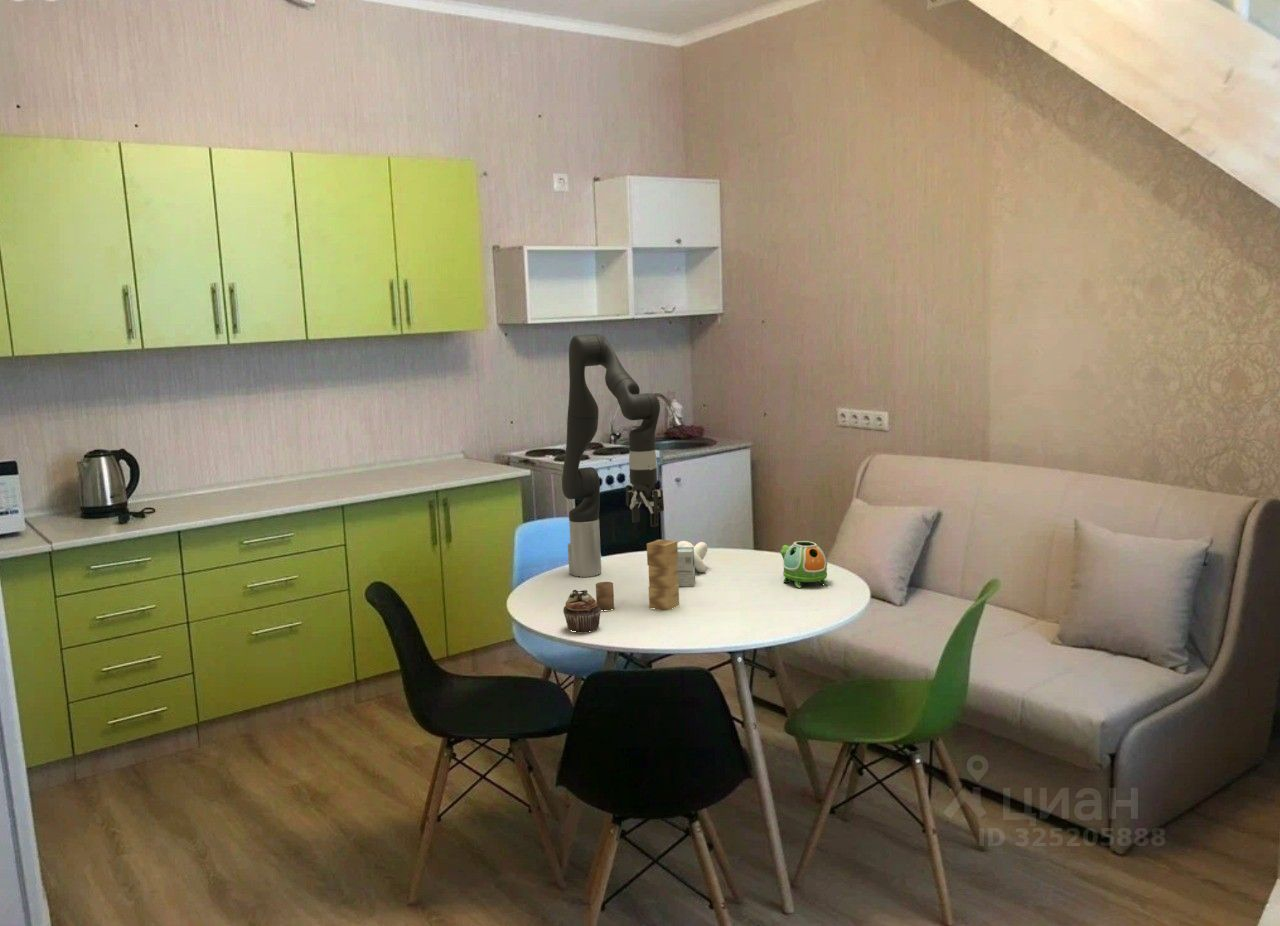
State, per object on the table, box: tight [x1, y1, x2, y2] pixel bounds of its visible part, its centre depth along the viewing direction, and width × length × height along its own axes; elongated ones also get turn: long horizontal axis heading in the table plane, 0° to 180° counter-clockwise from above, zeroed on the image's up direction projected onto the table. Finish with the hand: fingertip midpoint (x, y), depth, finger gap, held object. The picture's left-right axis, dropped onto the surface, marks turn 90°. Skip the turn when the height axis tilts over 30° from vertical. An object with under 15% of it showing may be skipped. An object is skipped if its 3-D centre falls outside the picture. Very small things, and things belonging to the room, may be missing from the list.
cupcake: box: [563, 589, 602, 633], centre depth 264 cm, size 10×10×10 cm
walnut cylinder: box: [595, 581, 615, 612], centre depth 281 cm, size 5×5×7 cm
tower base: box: [648, 584, 680, 611], centre depth 280 cm, size 6×6×6 cm
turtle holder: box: [780, 540, 828, 589], centre depth 300 cm, size 12×18×12 cm
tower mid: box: [648, 564, 678, 589], centre depth 280 cm, size 6×6×6 cm
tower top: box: [646, 539, 678, 568], centre depth 279 cm, size 6×6×6 cm
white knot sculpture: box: [677, 540, 708, 573], centre depth 318 cm, size 11×12×9 cm
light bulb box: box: [677, 545, 696, 587], centre depth 303 cm, size 11×7×11 cm, turn 84°
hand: (645, 524), depth 284 cm, fingers open, 8 cm apart
